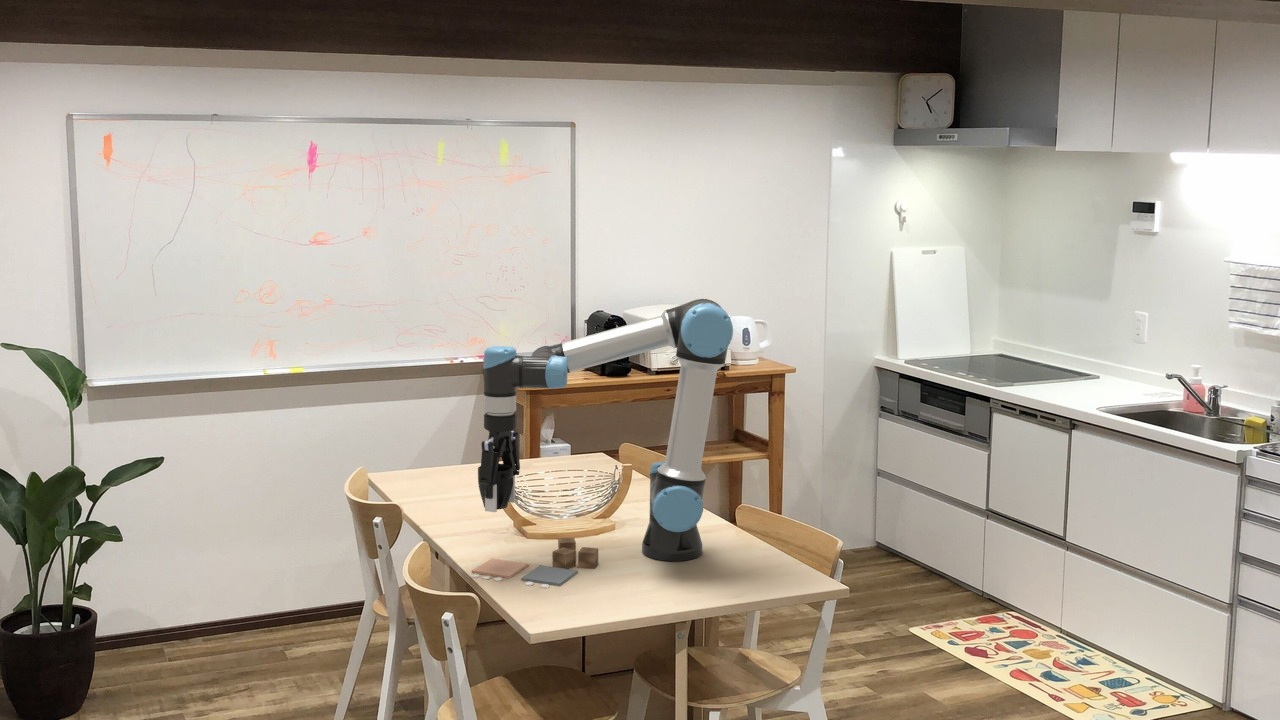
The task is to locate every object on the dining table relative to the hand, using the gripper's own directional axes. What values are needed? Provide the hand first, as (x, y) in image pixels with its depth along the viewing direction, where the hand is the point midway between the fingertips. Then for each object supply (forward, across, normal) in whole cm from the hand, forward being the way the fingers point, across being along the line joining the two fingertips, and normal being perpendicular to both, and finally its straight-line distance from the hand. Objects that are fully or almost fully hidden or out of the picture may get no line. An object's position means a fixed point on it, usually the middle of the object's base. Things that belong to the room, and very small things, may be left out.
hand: (500, 506), depth 291 cm
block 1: (+16, -16, +10) cm, 24 cm away
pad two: (+15, +1, +13) cm, 20 cm away
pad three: (+15, +2, 0) cm, 16 cm away
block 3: (+16, -11, +18) cm, 26 cm away
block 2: (+16, -8, +13) cm, 22 cm away
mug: (0, +1, 0) cm, 1 cm away
